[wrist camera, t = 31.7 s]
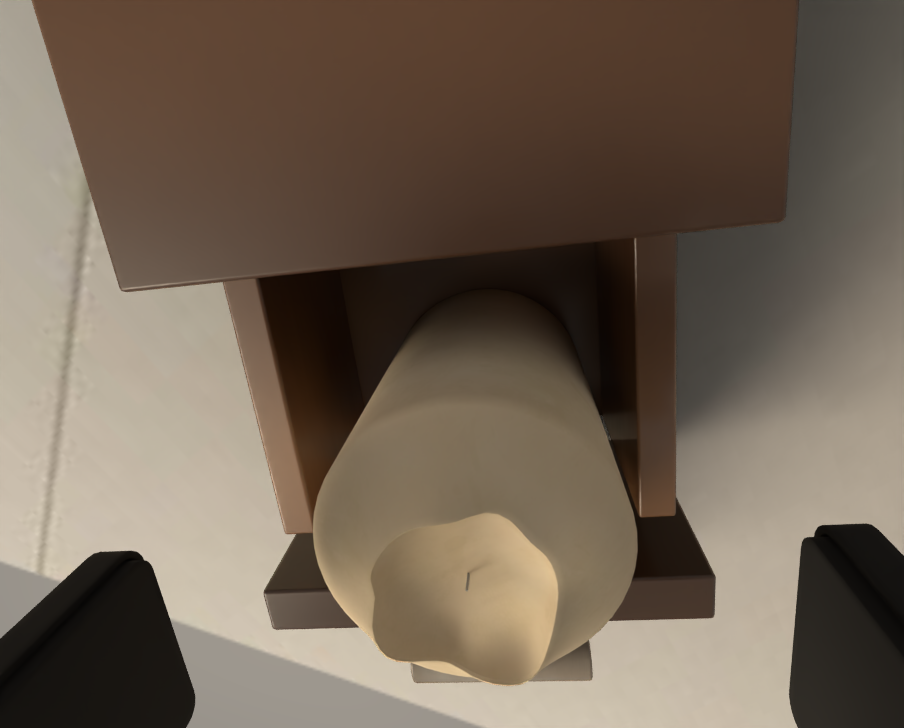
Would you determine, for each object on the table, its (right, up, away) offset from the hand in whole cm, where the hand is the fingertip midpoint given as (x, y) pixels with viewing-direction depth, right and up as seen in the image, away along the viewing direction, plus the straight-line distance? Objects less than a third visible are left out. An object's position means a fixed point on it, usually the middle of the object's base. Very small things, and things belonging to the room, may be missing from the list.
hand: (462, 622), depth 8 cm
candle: (+1, +3, +10) cm, 10 cm away
